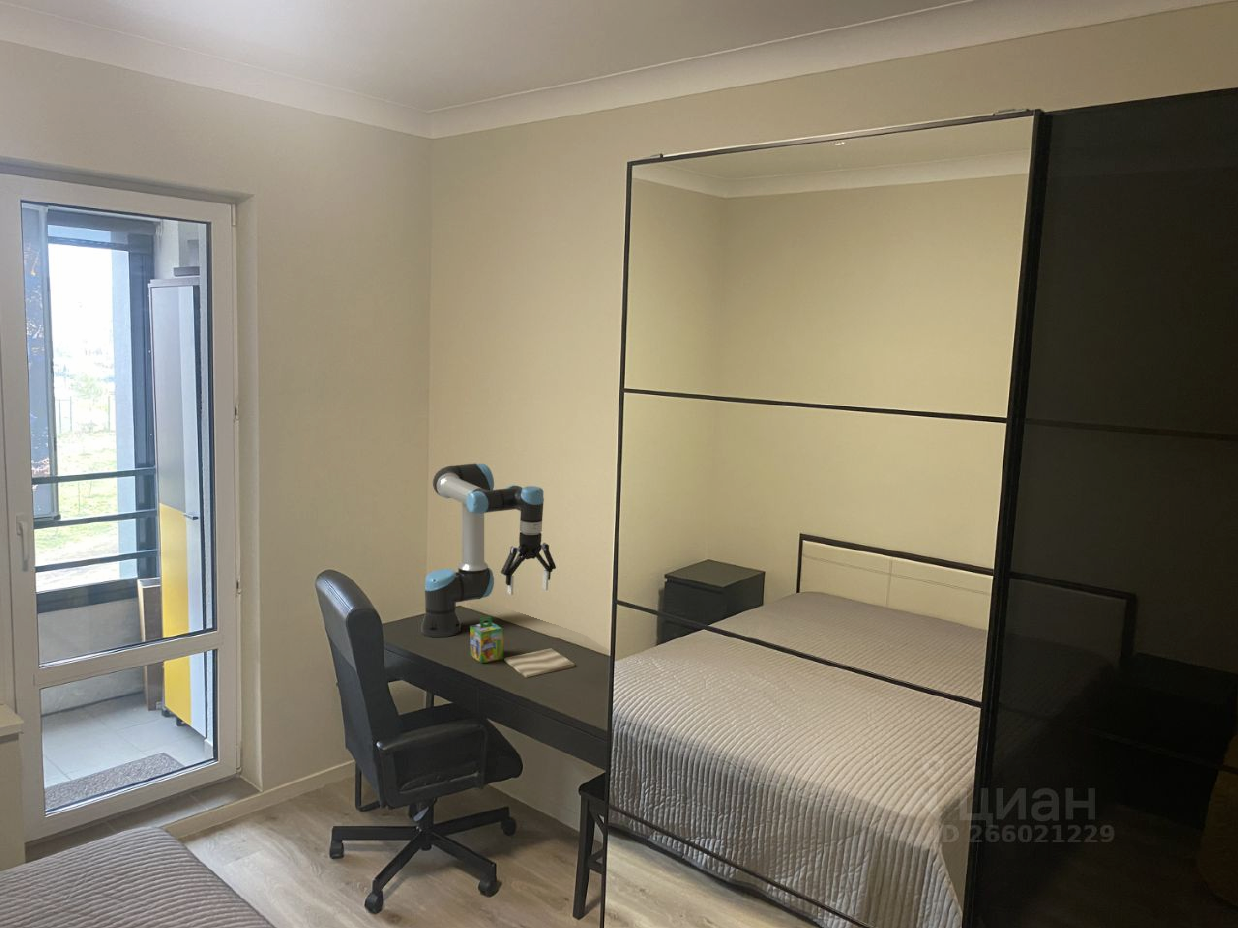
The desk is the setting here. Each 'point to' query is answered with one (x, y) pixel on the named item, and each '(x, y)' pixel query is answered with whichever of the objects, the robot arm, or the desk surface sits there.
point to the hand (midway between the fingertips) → (527, 591)
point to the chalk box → (486, 641)
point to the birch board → (538, 662)
